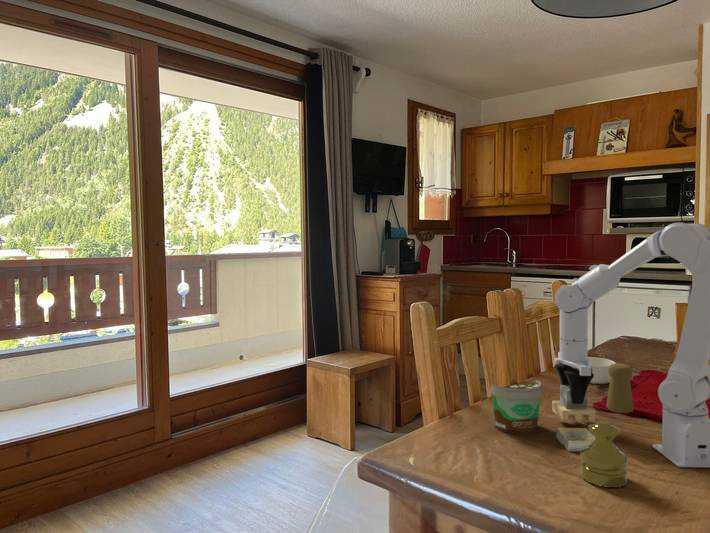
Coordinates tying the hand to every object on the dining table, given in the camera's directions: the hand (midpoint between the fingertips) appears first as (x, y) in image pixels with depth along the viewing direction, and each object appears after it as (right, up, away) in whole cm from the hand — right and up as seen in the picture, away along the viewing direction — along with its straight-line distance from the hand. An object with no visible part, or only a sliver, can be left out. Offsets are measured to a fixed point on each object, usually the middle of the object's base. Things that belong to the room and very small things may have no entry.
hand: (573, 399), depth 114 cm
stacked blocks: (0, -4, 0) cm, 4 cm away
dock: (-4, -6, -10) cm, 13 cm away
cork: (+16, -5, +10) cm, 19 cm away
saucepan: (+19, -4, +33) cm, 38 cm away
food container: (-12, -6, -3) cm, 14 cm away
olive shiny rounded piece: (-6, -7, -25) cm, 27 cm away
